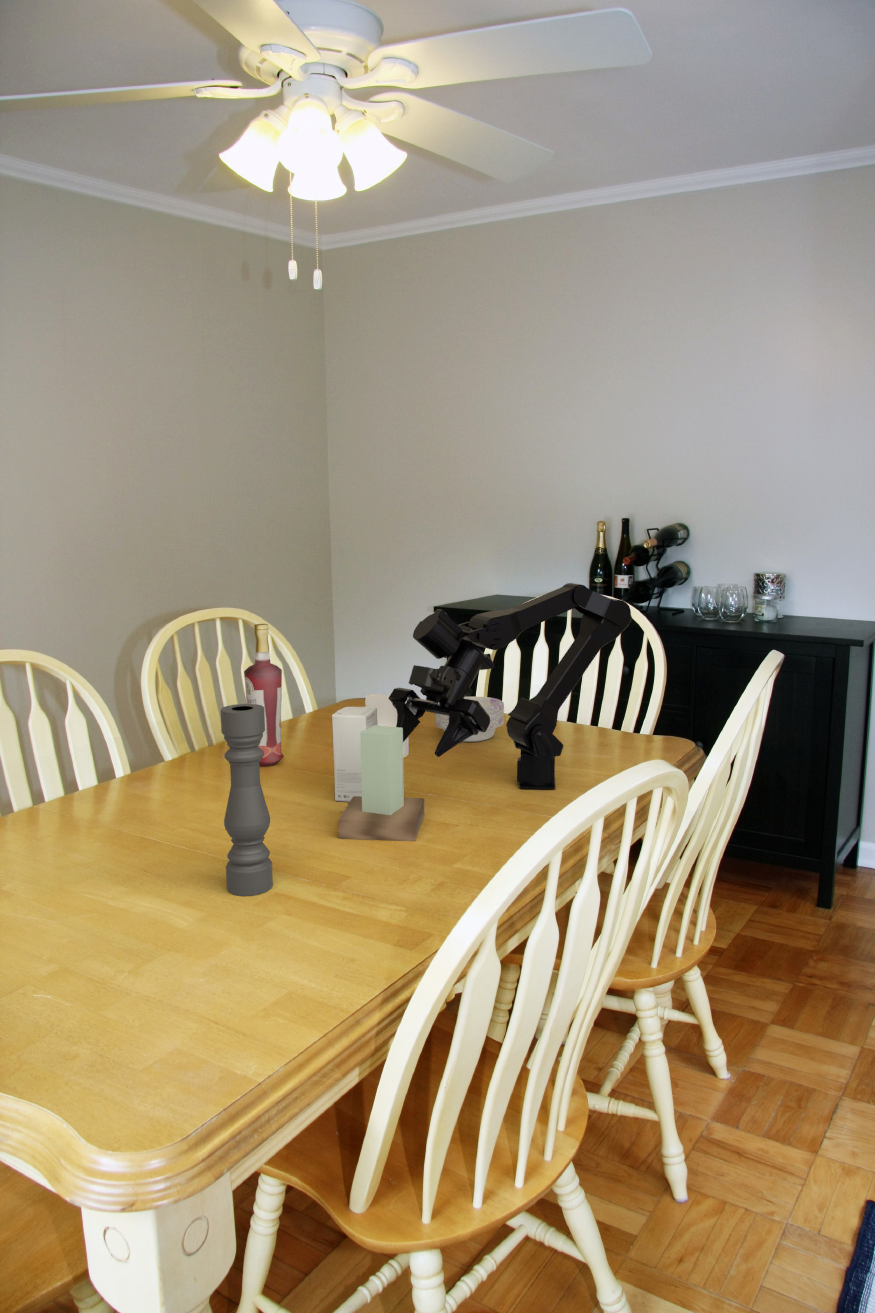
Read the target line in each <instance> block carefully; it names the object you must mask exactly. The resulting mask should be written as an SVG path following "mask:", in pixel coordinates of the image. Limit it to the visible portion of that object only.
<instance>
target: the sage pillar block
mask: <svg viewBox="0 0 875 1313" xmlns="http://www.w3.org/2000/svg"><path fill="white" fill-rule="evenodd" d="M360 736H361V782H362V811H363V812H370V813H378V814H385V815H391V814H393V813H394V812H396V811H397V810H399V809H400V808H401V807H403V806H404V798H405V797H404V796H405V795H404V793H405V792H404V791H405V790H404V757H403V728H399V727H389V726H379V725H374V726H372V727H370V728H368V729H366V730H364V731H362V732H360Z"/></svg>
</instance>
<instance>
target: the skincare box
mask: <svg viewBox="0 0 875 1313" xmlns="http://www.w3.org/2000/svg"><path fill="white" fill-rule="evenodd" d="M331 718H332V719H331V721H332V722H331V723H332V747H333V750H332V751H333V772H334V774H333V775H334V778H333V780H334V801H336V802H344V803H346V802H347V803H349V802H350V801H351V799H352V797H353V796H362V782H361V736H360V732H362V731H364V730H366V729H368V728H370V727H372V726H374V725H378V721H377V707H366V706H344V707H343V708H341V709H338V710H336V712H334V713H333V714H331Z"/></svg>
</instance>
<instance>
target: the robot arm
mask: <svg viewBox="0 0 875 1313" xmlns="http://www.w3.org/2000/svg"><path fill="white" fill-rule="evenodd" d="M571 610H575V611H576V612H578V614H581V615H582V616H581V619H580V627H579V633H578V635H577V636H576V638H575V639H574V640H573V642H572V643H571V645H570V646H569V647H568V649H567V650H566V652H565V653H564V654H563V656H562V658H561V660H559V662H558V663H557V665H556V666H555V668H554V669H553V671H552V672H551V674H550V675H549V676H548V678H547V679H546V681H545V682H544V684H543V685H542V686H541V688H540V689H539V691H538V693H537V694H536V695H534V696H533V697H532V698H530V699H526V698H524V697H520V698H519V699H518V700H517V703H516V705H515V706H514V708H513V709H512V711H511V710H510V712H509V713H508V714H507V716H509V717H508V719H507V721H506V724H505V725H506V732H507V735H508V737H509V738H510V740H512V741H513V745H514V746H515V748H516V749H519V750H520V755H519V756H520V757H519V756H518V757H517V758H516V759H517V761H516V783H517V784H519V786H518V787H519V789H524V790H525V789H526V790H528V789H531V790H532V789H533V790H556V773H555V771H556V757H560V756H561V755H562V753H563V749H564V743H563V742H561V741H560V739H558V738H557V737H556V736H555V735H554V732H555V730H556V727H557V724H558V714H559V711H560V709H561V707H562V706H563V705H564V703H565V701H566V700H567V698H568V697H569V696H570V694H571V692H572V691H573V690H574V688H575V687H576V686H577V685H578V682H579V681H580V679H582V676H583V675H584V674H585V673H586V671H587V669H588V668H589V666H590V665H591V664H592V662H593V661H594V660H595V658H596V657H597V655H598V654H599V652H600V650H601V649H602V648H604V646H606V645H607V644H609V643H610V642H612V641H614V640H615V639H617V638H618V637H619V636H620V635H621V634H622V633H623V632H625V630H626V629H627V628H628V627H629V625H630V623H631V622H632V619H633V618H632V617H633V616H632V611H631V608H630V606H629V604H628V603H627V602H626V601H624V600H622V599H621V600H620V599H615V598H610V597H608V596H605V595H604V594H601V593H598V592H597V591H594V590H592V589H590V588H588V587H587V586H585V585H584V584H582V583H581V584H579V583H573V582H567V583H565V584H564V585H563V586H561V587H559V588H557V589H555V590H552V591H550V592H547V593H545V594H542V595H541V596H540V595H539V596H537V597H536V598H533V599H530V600H528V601H525V602H523V603H520V604H519V605H516V606H514V607H511V608H505V609H500V610H499V609H497V610H491V611H486V612H481V613H476V614H475V615H473V616H471V618H470V619H469V621H466V622H463V623H460V624H457V623H456V622H454V620H452V619H451V618H450V616H449V615H448V613H447V612H446V611H445V610H443V609H440V608H436V610H435V611H434V612H432V614H429V615H428V616H426V617H424V619H423V620H421V621H419V623H418V624H417V625H416V626H415V628H414V630H413V633H412V638H413V639H414V640H415V641H416V642H417V643H418V644H420V645H421V646H422V648H424V649H425V650H427V652H428V653H430V654H431V655H432V657H434V658H435V659H437V660H440V659H443V658H445V659H447V660H446V662H445V664H444V665H440V666H439V668H433V667H428V666H422V665H421V666H420V665H416V664H415V665H414V664H413V666H412V669H411V673H410V677H409V680H408V684H409V685H410V686H413V685H414V686H416V687H418V688H420V690H419V692H420V693H421V694H422V695H423V696H425V697H426V698H425V699H423V698H421V697H420V696H419V695H418V693H416V691H415V690H414V689H411V688H404V687H396V688H393V690H392V692H391V693H390V695H388V696H389V698H388V699H389V700H390V701H391V702H392V705H393V706H394V707H395V708H396V710H397V725H396V727H399V728H403V742H404V741H405V740H406V739H407V737H408V736H410V735H411V734H412V733H413V731H415V729H417V727H418V725H419V724H420V723H421V720H419V719H420V718H422V717H424V715H425V714H426V713H432V714H435V713H437V714H442V715H447V716H449V724H448V726H447V728H446V730H445V732H444V731H443V734H442V735H441V737H440V739H439V741H438V744H437V745H436V748H435V750H434V755H435V756H436V757H438V758H440V757H441V756H442V755H444V754H446V753H447V752H449V751H450V750H451V749H453V748H454V747H455V746H457V745H459V744H461V743H463V742H462V741H464V740H465V739H467V738H469V737H470V736H472V735H477V734H478V733H479V732H486V730H487V728H488V726H489V724H490V716H489V715H488V713H487V712H486V711H485V709H484V708H483V707H482V706H481V704H480V703H479V702H478V701H476V700H470V699H464V697H472V696H473V693H474V691H473V689H472V685H473V682H474V680H475V679H476V677H477V675H478V673H479V672H480V671H484V670H485V671H486V670H492V669H494V668H495V665H494V661H493V660H492V657H491V655H492V654H491V653H484V652H483V651H482V650H481V649H480V648H479V647H482V648H485V649H488V650H492V651H498V650H501V649H503V648H504V647H506V646H507V645H509V644H510V643H512V642H514V641H515V640H516V639H517V638H518V637H519V636H520V634H521V633H523V632H525V631H526V630H527V629H529V628H532V627H534V626H536V625H538V624H541V623H543V622H545V621H547V620H550V619H553V618H555V617H557V616H559V615H561V614H564V613H566V612H568V611H571ZM467 641H469V642H471V643H472V645H471V644H469V643H468V642H467ZM478 646H479V647H478ZM478 731H479V732H478Z"/></svg>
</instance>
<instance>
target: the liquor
mask: <svg viewBox="0 0 875 1313" xmlns="http://www.w3.org/2000/svg"><path fill="white" fill-rule="evenodd" d="M253 627H254V628H253V629H254V637H255V656H254V658H255V659H254V664H252V665H250V666H248V667H247V668H246V669H245V670H244V671H243V674H244V676H243V677H244V685H245V686H244V687H245V700H246V704H258V705H262V706H263V707H264V715H265V731H264V732H263V737H262V739H261V741H260V744H259V748H261V749H262V750H263V751H264V756H263V758H262V759H261V761H260V762H259V765H260V767H271V766H275V765H277V764H278V763H279V762H280V761H282V759H283V758H284V754H283V752H282V697H283V695H282V694H283V693H282V690H283V688H282V685H283V680H282V675H283V671H282V668H280V666H278V665H276V664H274V663H271V656H270V650H269V641H268V638H269V624H268V623H256V624H253Z"/></svg>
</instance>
